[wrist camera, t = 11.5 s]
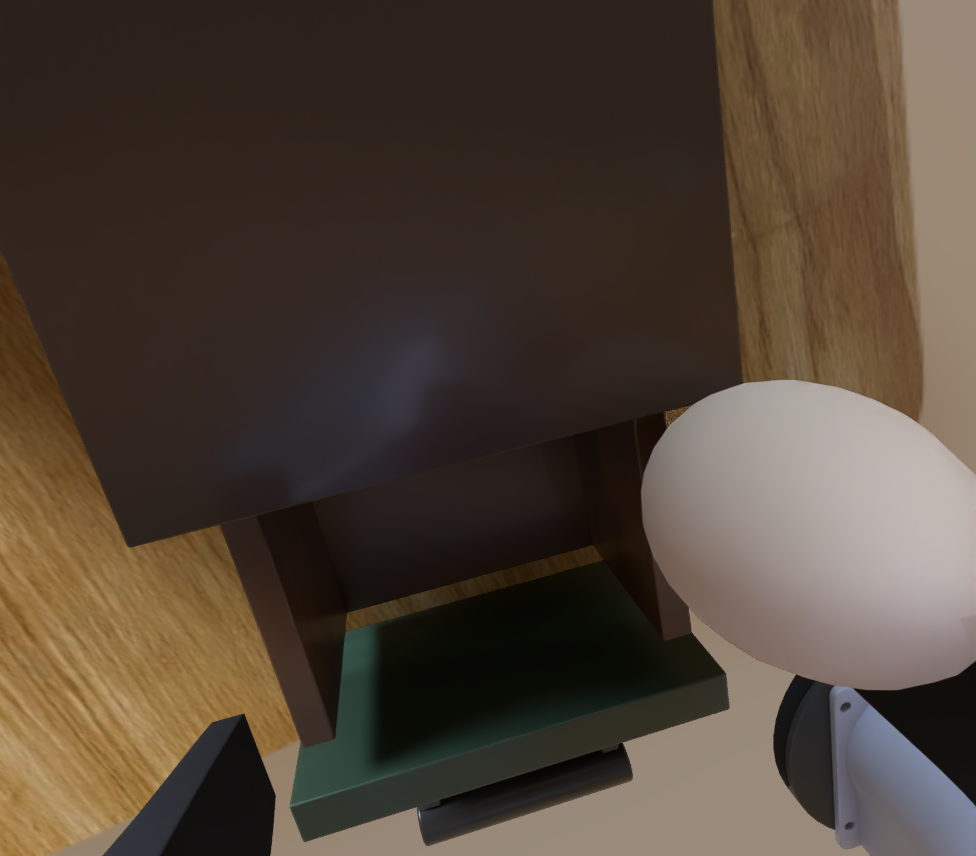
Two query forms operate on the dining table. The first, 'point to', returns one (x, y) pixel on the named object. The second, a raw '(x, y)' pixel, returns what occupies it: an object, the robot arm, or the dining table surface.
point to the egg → (818, 533)
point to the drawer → (474, 637)
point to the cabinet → (359, 234)
